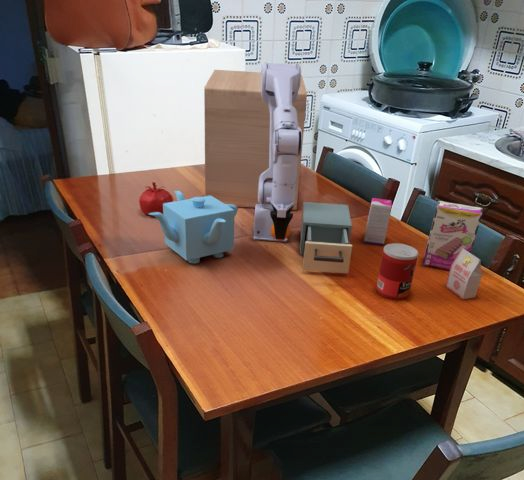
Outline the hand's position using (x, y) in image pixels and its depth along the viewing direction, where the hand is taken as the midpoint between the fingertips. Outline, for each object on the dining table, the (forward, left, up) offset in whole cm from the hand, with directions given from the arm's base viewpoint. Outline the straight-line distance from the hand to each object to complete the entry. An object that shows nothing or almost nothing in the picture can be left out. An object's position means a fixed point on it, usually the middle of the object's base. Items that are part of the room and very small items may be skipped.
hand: (280, 234), depth 140 cm
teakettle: (-22, -1, -7) cm, 23 cm away
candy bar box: (+44, +3, -7) cm, 45 cm away
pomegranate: (-38, +26, -7) cm, 47 cm away
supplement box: (+27, +17, -7) cm, 33 cm away
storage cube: (-11, +53, -7) cm, 55 cm away
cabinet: (+12, +11, -7) cm, 18 cm away
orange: (0, 0, +1) cm, 1 cm away
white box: (+45, -11, -7) cm, 47 cm away
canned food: (+28, -14, -7) cm, 32 cm away
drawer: (+12, -3, -6) cm, 14 cm away
